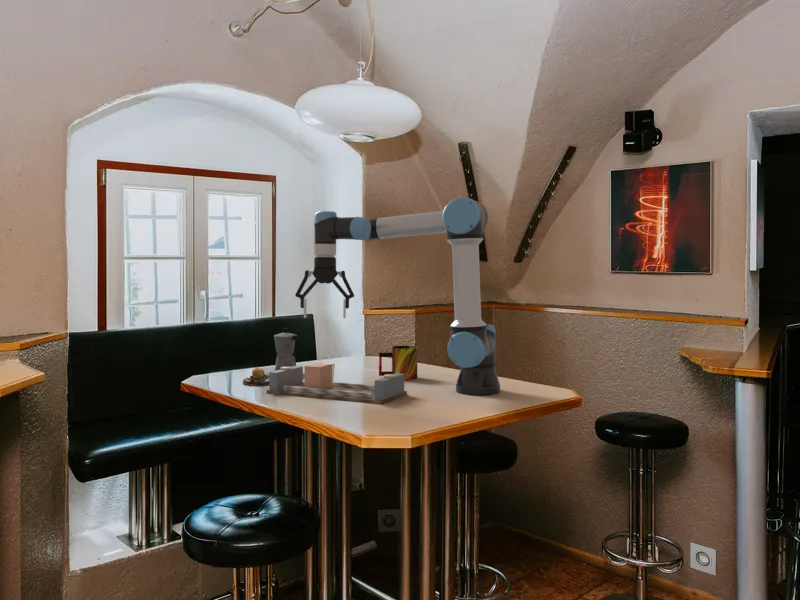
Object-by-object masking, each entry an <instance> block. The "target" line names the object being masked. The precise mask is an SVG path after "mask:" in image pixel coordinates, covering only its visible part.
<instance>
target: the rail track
mask: <svg viewBox="0 0 800 600" xmlns="http://www.w3.org/2000/svg"><path fill="white" fill-rule="evenodd" d="M266 394H271V395H273V394H274V395H281V396H282V395H284V396H293V397H304V398H312V399H313V398H314V399H325V400H336V401H344V402H355V403H357V402H358V403H366V402H367V403H368V404H376V403H377V404H378V405H385V404H386V403H389V402H392V401H393V400H396V399H398V398H402V397H404V396H406V395H407V394H408V390H404V392H402V393H400V394H397V395H395V396H392V397H390V398H387V399H385V400H375V384H363V383H362V384H361V383H352V382H341V381H340V382H338V381H333V382H332V387H331V388H327V389H319V388H307V387H305V381H303V383H301V384H298V385H294V386H284V389H280V390H270V388H268V389H266ZM356 401H357V402H356ZM367 403H366V404H367ZM384 403H385V404H384Z"/></svg>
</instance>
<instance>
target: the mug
mask: <svg viewBox="0 0 800 600" xmlns="http://www.w3.org/2000/svg"><path fill="white" fill-rule="evenodd" d="M383 358H391V371H387V370H386V371H383V369H382V363H383V362H382V361H383V360H382V359H383ZM395 373H401V374H404V381H416V380H417V379H418V346H416V345H395V346H392V347H391V352H379V353H378V376H380V377H382V376H383V377H384V375H386V374H395Z"/></svg>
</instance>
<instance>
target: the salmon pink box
mask: <svg viewBox="0 0 800 600" xmlns="http://www.w3.org/2000/svg"><path fill="white" fill-rule="evenodd" d="M304 383H305V387H307V388H319V389H327V388H331V387H332V364H326V363H321V362H315V363H311V364H307V365H304Z"/></svg>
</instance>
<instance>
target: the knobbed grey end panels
mask: <svg viewBox="0 0 800 600" xmlns="http://www.w3.org/2000/svg"><path fill="white" fill-rule="evenodd" d="M303 369H304V367H303V366H301V365H296V366H293V367H281V370H277V371H275V370H272V371H270V372H268V373H269V374H268V375H269V385H268V386H269V389H270V390H280V389H284V386H294V385H298V384H301V383H303V382H304V378H303V377H304V374H303V371H304V370H303ZM374 385H375V400H385V399H387V398H390V397H392V396H395V395H397V394H400V393H402V392H404V391H405V380H404V374H401V373H395V374H386V375H384V376H383V377H382V378H379V379H375V380H374Z"/></svg>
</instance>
